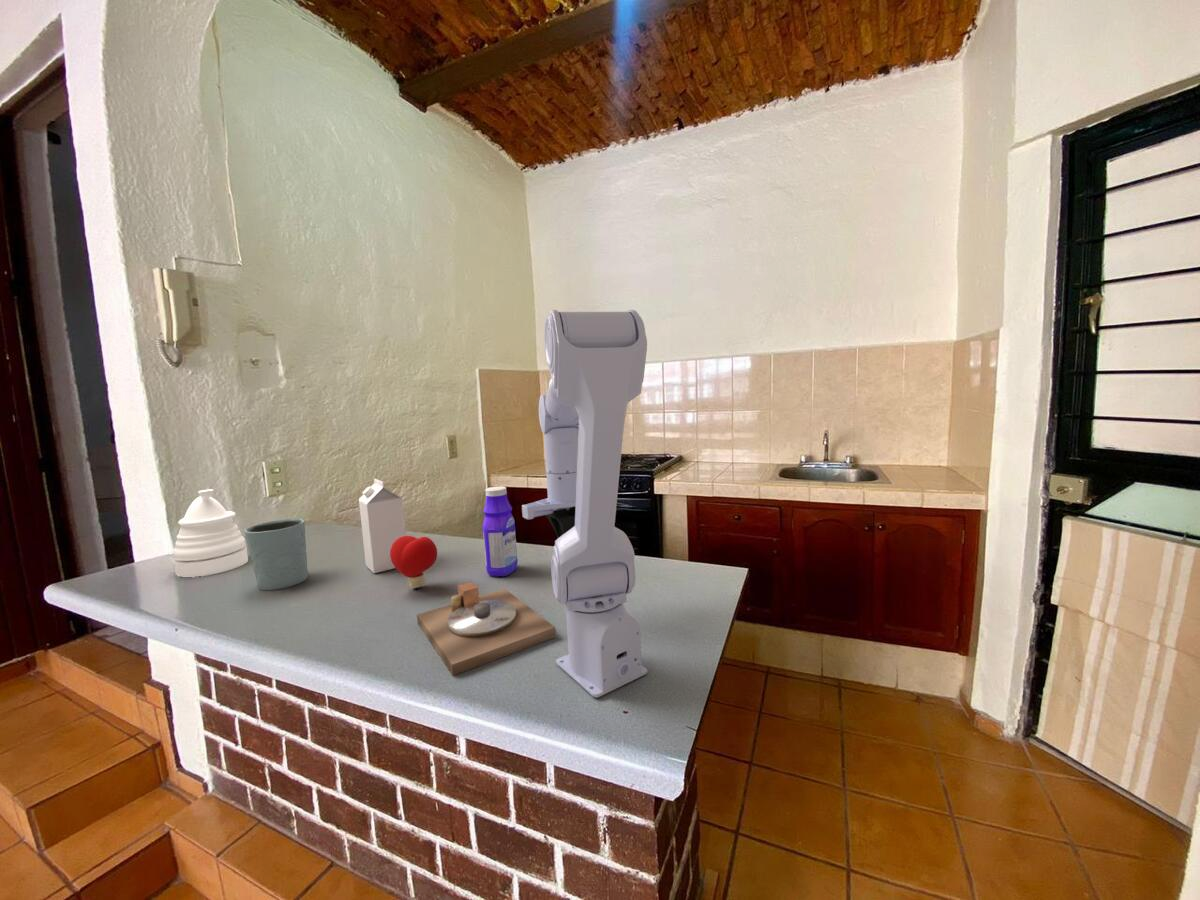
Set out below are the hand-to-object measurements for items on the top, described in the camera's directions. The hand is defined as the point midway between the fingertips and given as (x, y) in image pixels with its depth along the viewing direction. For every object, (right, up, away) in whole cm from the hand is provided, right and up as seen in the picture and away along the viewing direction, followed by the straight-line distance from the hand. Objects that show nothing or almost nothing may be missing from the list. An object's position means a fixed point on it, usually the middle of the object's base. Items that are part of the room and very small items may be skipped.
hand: (569, 554), depth 75 cm
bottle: (-15, -8, +20) cm, 26 cm away
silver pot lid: (-14, -9, -4) cm, 17 cm away
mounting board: (-13, -11, -4) cm, 17 cm away
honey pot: (-84, -10, +32) cm, 90 cm away
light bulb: (-30, -10, +13) cm, 34 cm away
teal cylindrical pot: (-60, -10, +20) cm, 64 cm away
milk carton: (-42, -9, +27) cm, 50 cm away
